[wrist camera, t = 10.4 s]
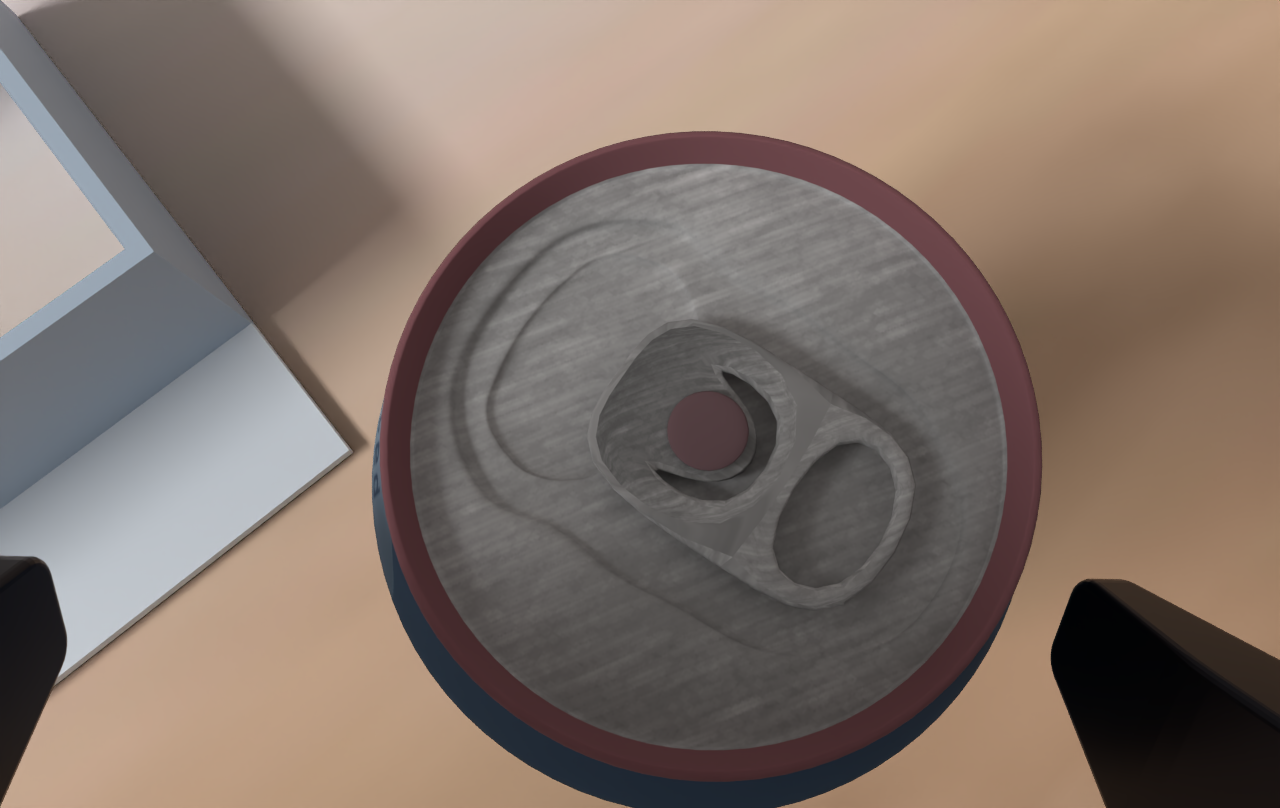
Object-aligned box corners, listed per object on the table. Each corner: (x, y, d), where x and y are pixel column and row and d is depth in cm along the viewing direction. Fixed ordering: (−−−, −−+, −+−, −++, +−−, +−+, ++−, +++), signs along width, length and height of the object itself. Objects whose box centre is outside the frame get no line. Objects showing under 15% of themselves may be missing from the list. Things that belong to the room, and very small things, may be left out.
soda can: (452, 585, 19) (137, 537, 7) (631, 332, 20) (605, -51, 9) (721, 778, 18) (850, 1074, 6) (892, 498, 19) (1258, 320, 8)
